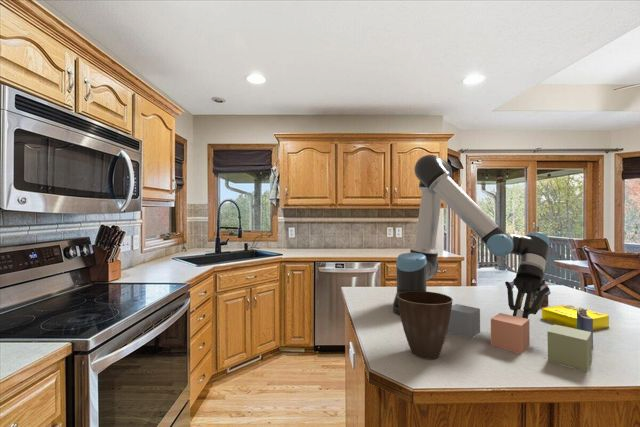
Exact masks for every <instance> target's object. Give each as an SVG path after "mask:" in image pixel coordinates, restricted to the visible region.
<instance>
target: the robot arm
mask: <svg viewBox="0 0 640 427" xmlns="http://www.w3.org/2000/svg"><path fill="white" fill-rule="evenodd" d="M452 174H453V170H452V167H451V165H450V164H449V163H448V161H446V160H445V159H443V158H440V157H439V156H437V155H434V154H426V155H423V156H421V157H420V158H419V159H418V160H417V161H416V163H415V164H414V175H415V177H416V178H417V180H419V185H418V189H419V190H420V192H421V196H420V204H419V212H418V218H417V226H416V232H415V233H416V234H415V240H414V241H415V242H414V245H413V246H412V247H410V250H409V252H406V253H401V254H399V255H398V256H397V257H396V263H395V266H396V294H395V295H394V300H393V302H392V312H393V313H394V314H396V315H398V316H400V311H399V305H398V299H397V295H398V294H399V293H402V292H407V291H426V292H427V281H428V280H431V279H432V278H433V277H435V276H436V275H437V273H438V270H439V261H438V254H439V252H438V250H437V249H436V244H437V235H438V229H439V221H440V215H441V214H440V213H441V207H442V201H443V202H444V203H445V204H446V205H447V206H448V207H449V208H450V209H451V210H452V211H453V213H455V214H456V215H457V216H458V218H459V219H461V221H462V222H464V224H465V225H466V226H467V227H469V229H470V230H471V231H472V232H473V233H474V234H475V235H476V236H477V237H478V238H479V239H480V240H481V241H482V243H483V244H484V245H485V246H486V248H487V250H488V252H490V254H492V255H493V256H496V257H505V256H508V255H510V254H512V255H515V256H520V259H519V263H518V268H517V270H516V273H515V275H516V276H515V278H514V279H513V280H512V281H505V282H504V284H505V286H506V289H507V290H506V291H507V303H508V304H507V305H508V308H509V309H510V311H513V313H512V316H517V317H521V318H526V319H529V315H536V314H538V312H539V310H540V308H541V307H542V306H541V305H542V303H543V301H544V299H545V298H546V297H547V296H548V297H549V295H551V290H550V287H549V286H548V287H544V286H543V283H542V281H543V279H544V275H545V270H546V264H547V259H548V254H549V250H550V245H551V244H550V237H549V236H548V235H546V234H545V233H543V232H541V231H532V232H528V233H527V234H526V235H518V234H514V233H509V232H505V231H504V230H503V229H502V228H501V227H500V226H499V225H498V224H497V223H496V222H495V221H494V220H493V219H492V218H491V217H490V216H489V215H488V214H487V213H486V212H485V210H483V209H482V208H481V207H480V206H479V205H478V204H477V203H476V202H475V201H474V200H473V199H472V197H470V196H469V195H468V194H467V193H466V192H465V191H464V190H463V188H461V187H460V186H459V184H457V183H456V182H455V181H454V180H453V179H452V176H453V175H452ZM514 288H516V289H517V294H516V299H515V300H514V290H513V289H514ZM540 289H541V290H540ZM539 290H540V293H539V294H538V296H537V298H536V300H535V301H534V303H532V299H533V296H534V293H536V292H537V291H539ZM525 294H526V295H525ZM525 296H526V297H525ZM524 297H525V302H524V305H523V301H524ZM522 306H523V309H522Z"/></svg>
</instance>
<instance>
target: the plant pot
mask: <svg viewBox="0 0 640 427" xmlns="http://www.w3.org/2000/svg"><path fill="white" fill-rule="evenodd" d="M397 299H398V305H399V311H400V315H399V316H400V321H401V325H402V328H403V333H404V334H405V338H406V341H407V343H408V347H409V349H410V352H411V353H412V355H413V356H415V357H417V358H420V359H427V360H433V359H437V358H439V357H440V355H441V354H440V353H441V351H442V349H443V346H444V343H445V340H446V337H447V333H448V332H447V330H448V326H449V321H450V315H451V309H452V305H453V298H452V297H451V296H450V295H447V294H445V293H444V294H443V293H441V292H434V291H427V290H426V291H407V292H402V293H399V294H398V295H397Z"/></svg>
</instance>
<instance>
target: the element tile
mask: <svg viewBox="0 0 640 427" xmlns="http://www.w3.org/2000/svg"><path fill="white" fill-rule="evenodd" d="M579 308H580V309H582V308H583V307H577V306H576V305H571V304H560V305H554V306H545V307H542V308H541V319H542V320H544V321H547V322H551V323H554V324H556V325H560V326H564V327H569V328H574V329H577V311H578V310H580V309H579ZM584 309H585V308H584ZM586 309H587V308H586ZM586 309H585V310H586ZM586 312H587V315H588V316H590V317H591V318H593V331H597V330H602V329H606V328H609V327H610V316H609V315H608V314H607V313H602V312H598V311H593V310H590V309H587V311H586Z"/></svg>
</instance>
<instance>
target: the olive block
mask: <svg viewBox="0 0 640 427" xmlns="http://www.w3.org/2000/svg"><path fill="white" fill-rule="evenodd" d="M592 350H593V349H592V339H591V332H588V331H583V330H579V329H574V328H570V327H566V326H563V325H560V324H556V323H554V324H553V325H552V326H551V327H550V328H549V329H548V330H547V362H550V363H553V364H557V365H560V366H565V367H567V368H571V369H575V370H577V371H582V372H585V373H588V371H589V369H590V367H591V365H592V362H593V361H592V360H593V358H592V357H593V355H592Z"/></svg>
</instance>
